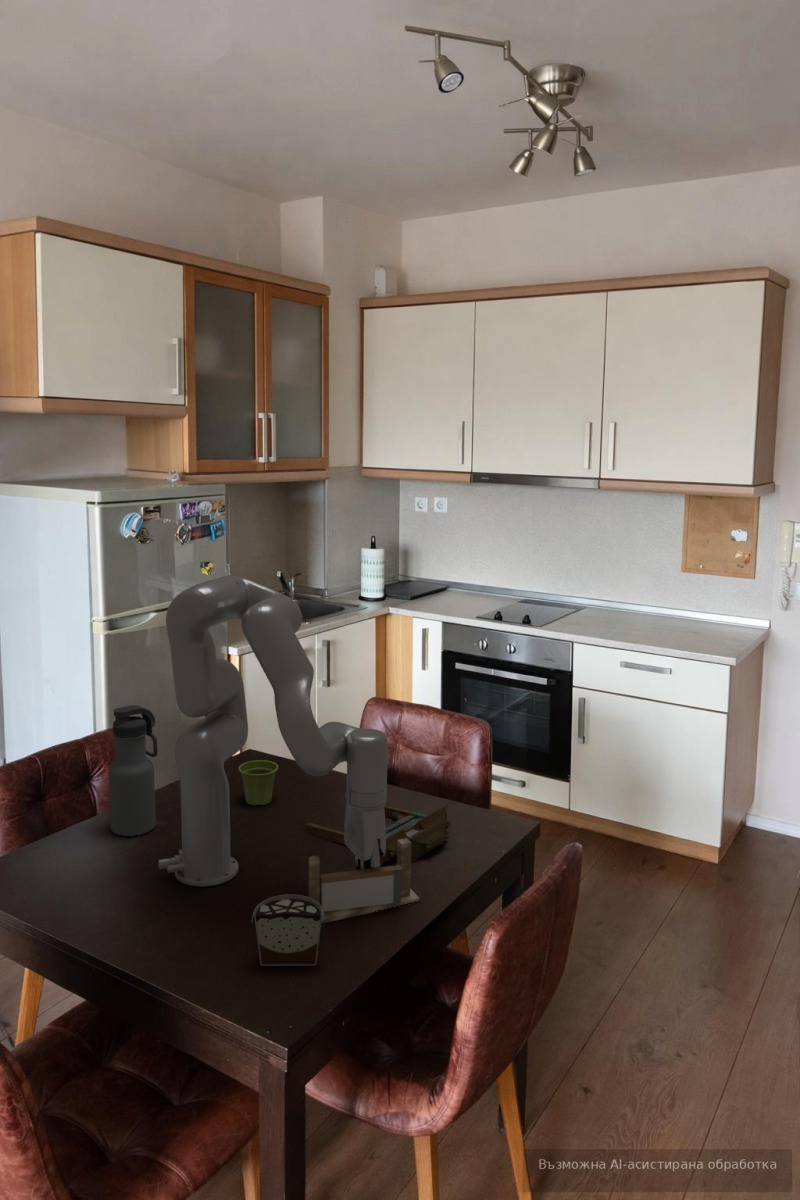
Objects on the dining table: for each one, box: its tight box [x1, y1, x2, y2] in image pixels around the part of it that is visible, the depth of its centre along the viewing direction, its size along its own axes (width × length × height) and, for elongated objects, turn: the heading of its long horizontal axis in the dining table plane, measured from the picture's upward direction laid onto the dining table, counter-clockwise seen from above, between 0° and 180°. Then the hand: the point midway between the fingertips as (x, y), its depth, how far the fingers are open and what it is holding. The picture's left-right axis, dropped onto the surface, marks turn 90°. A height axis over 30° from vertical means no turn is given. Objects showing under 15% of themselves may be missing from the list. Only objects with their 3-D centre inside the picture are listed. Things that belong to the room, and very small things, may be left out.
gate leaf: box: [320, 865, 403, 912], centre depth 172 cm, size 15×2×7 cm, turn 106°
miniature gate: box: [304, 804, 451, 868], centre depth 205 cm, size 27×6×30 cm
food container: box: [250, 894, 326, 967], centre depth 157 cm, size 12×6×10 cm, turn 92°
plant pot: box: [238, 759, 279, 806], centre depth 222 cm, size 9×9×9 cm
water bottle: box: [107, 704, 158, 837], centre depth 204 cm, size 10×10×28 cm
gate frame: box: [308, 838, 421, 925], centre depth 173 cm, size 24×5×12 cm, turn 115°
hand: (365, 885), depth 176 cm, fingers closed
